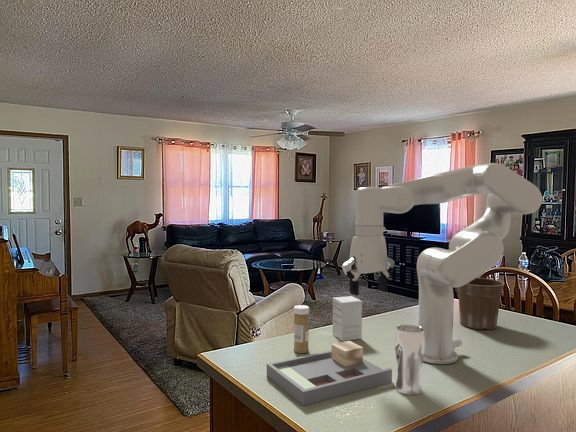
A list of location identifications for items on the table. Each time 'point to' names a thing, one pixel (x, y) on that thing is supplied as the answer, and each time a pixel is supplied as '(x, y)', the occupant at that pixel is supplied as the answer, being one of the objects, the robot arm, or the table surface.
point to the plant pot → (480, 303)
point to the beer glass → (409, 358)
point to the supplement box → (347, 318)
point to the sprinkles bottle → (301, 328)
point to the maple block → (347, 353)
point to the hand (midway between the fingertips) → (368, 292)
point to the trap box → (324, 377)
